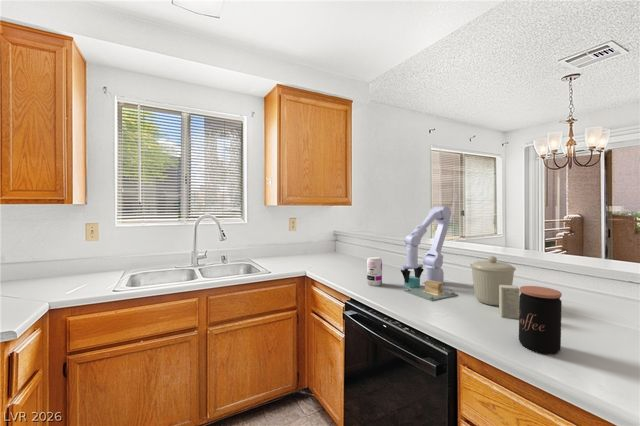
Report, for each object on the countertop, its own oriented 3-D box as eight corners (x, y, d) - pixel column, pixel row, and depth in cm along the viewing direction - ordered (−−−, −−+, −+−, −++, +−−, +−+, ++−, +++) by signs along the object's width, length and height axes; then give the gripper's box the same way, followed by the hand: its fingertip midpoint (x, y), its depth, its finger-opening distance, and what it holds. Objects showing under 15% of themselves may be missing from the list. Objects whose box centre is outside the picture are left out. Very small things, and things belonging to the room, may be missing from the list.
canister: (512, 299, 143) (512, 254, 142) (518, 311, 126) (519, 261, 126) (469, 294, 150) (469, 252, 150) (470, 305, 134) (470, 258, 133)
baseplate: (429, 286, 164) (429, 284, 164) (457, 295, 148) (457, 292, 148) (404, 291, 156) (404, 288, 156) (431, 301, 140) (431, 298, 140)
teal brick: (410, 284, 169) (410, 275, 169) (419, 287, 163) (420, 278, 163) (404, 285, 167) (404, 276, 167) (413, 288, 161) (413, 279, 161)
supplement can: (381, 282, 173) (381, 256, 173) (382, 286, 165) (382, 259, 165) (366, 282, 174) (366, 256, 174) (367, 286, 166) (367, 258, 166)
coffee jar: (510, 340, 100) (511, 286, 99) (541, 339, 101) (542, 285, 100) (536, 356, 89) (537, 295, 89) (570, 355, 90) (571, 294, 89)
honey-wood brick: (429, 289, 156) (429, 280, 156) (442, 292, 151) (442, 282, 151) (424, 291, 153) (424, 281, 153) (438, 294, 148) (438, 284, 148)
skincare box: (516, 315, 122) (516, 285, 122) (519, 319, 118) (519, 288, 117) (498, 313, 124) (498, 284, 124) (500, 317, 120) (501, 286, 119)
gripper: (416, 255, 172) (416, 278, 172) (396, 257, 165) (396, 281, 165) (426, 256, 166) (425, 281, 166) (406, 259, 159) (405, 284, 159)
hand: (411, 281), depth 165 cm, fingers open, 7 cm apart
